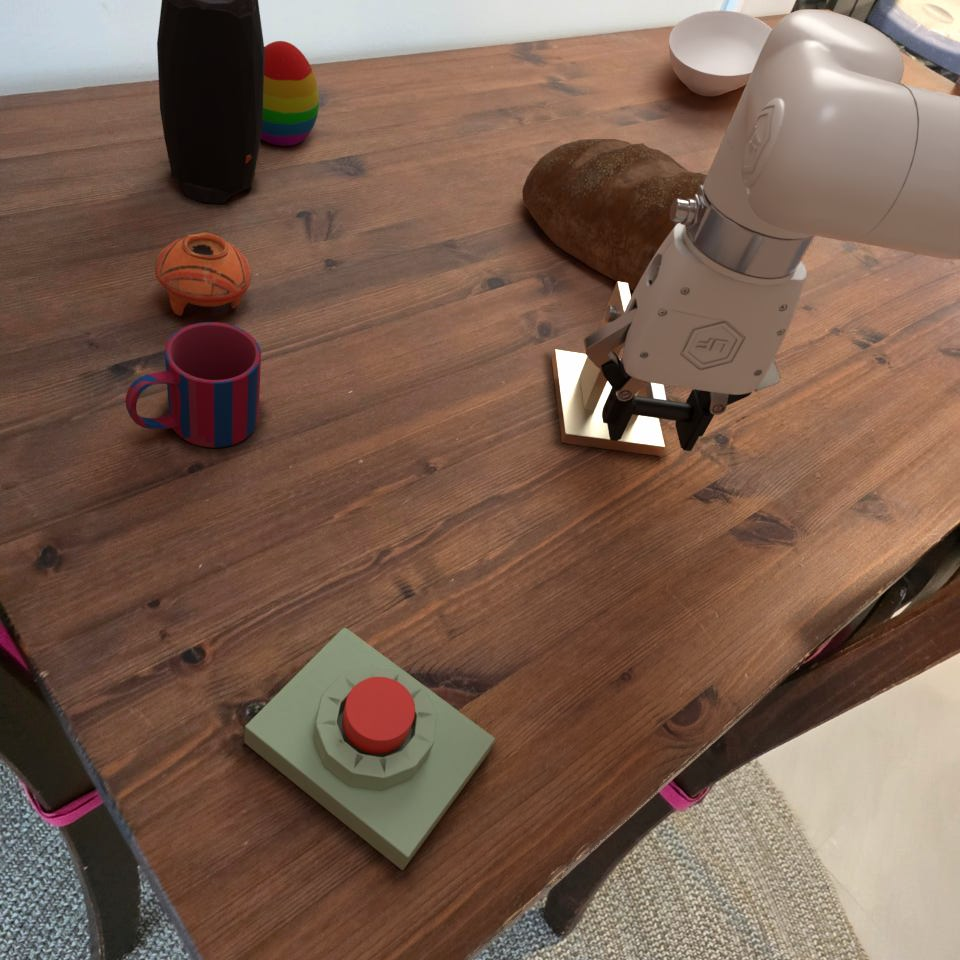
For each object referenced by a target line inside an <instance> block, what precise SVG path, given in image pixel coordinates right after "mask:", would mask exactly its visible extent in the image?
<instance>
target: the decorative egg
mask: <svg viewBox="0 0 960 960" xmlns="http://www.w3.org/2000/svg"><path fill="white" fill-rule="evenodd" d="M264 49H265V63H264V91H263V120H262V134H261V141H263V142H265V143H268V144H271V145H274V146H283V147H284V146H285V147H289V146H295V145H297V144H299V143H301V142H303V141H304V140H306V138H307V137H308V136H309V135H310V133H311V132H312V130H313V129H314V126H315V124H316V122H317V118H318V115H319V107H320V97H319V96H320V95H319V94H320V93H319V86H318V82H317V79H316V76H315V73H314V70H313V68H312V65H311V64H310V62H309V60H308V59H307V57H306V56H305V54H303V52H302V51H301V50H300V49H299V48H298V47H297V46H296V45H294V44H293V43H291V42H288V41H284V40H276V41H272V42H270V43H268V44H266V45H264Z"/></svg>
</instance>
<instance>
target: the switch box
mask: <svg viewBox="0 0 960 960" xmlns="http://www.w3.org/2000/svg"><path fill="white" fill-rule="evenodd" d="M371 677H387V678H391V679H393V680H396V681H398V682H399V683H401V684H402V685H403V686H404V687H405V688H406V689H407V690H408V691H409V692H410V694H411V696H412V698H413V700H414V704H415V716H414V720H413V723H412V726H411V729H410V732H409V734H408V736H407V738H406V740H405V741H404V742H403V743H402V745H400V746H399V747H398V748H396V749H395V750H393V751H391V752H388V753H383V754H371V753H367V752H364V751H362V750H360V749H358V748H357V747H355V746H354V745H353V744H352V743H351V742H350V741H349V740H348V738H347V737H346V735H345V732H344V729H343V724H342V718H343V712H344V708H345V703H346V699H347V697H348V694H349V693H350V691H351V690H352V688H353V687H354V686H355V685H357V684H358V683H359V682H361V681H363V680H365V679H368V678H371ZM243 736H244V739H243V740H244V741H243V742H244V744H245V745H247V746H248V747H249V748H250V749H251V750H253V751H254V752H255V753H256V754H258V755H259V757H261V758H263V759H264V760H265V761H266V762H267V763H269V764H270V765H271V766H272V767H273V768H275V769H276V770H278V771H279V772H280V773H281V774H282V775H284V776H285V777H286V778H287V779H289V780H290V781H291V782H292V783H293V784H295V785H296V787H298V788H300V789H301V790H302V791H303V792H304V793H306V794H307V795H308V796H309V797H311V798H312V799H313V800H314V801H316V802H317V803H318V804H319V805H321V806H322V807H323V808H324V809H326V810H327V811H328V812H329V813H331V814H332V815H333V816H334V817H335V818H336V819H337V820H339V821H340V822H342V823H343V824H344V825H345V826H347V827H348V828H349V829H350V830H351V831H353V832H354V834H357V835H358V836H359V837H360V838H361V839H363V840H364V841H365V842H366V843H368V844H369V845H370V846H371V847H372V848H374V849H375V850H376V851H378V853H379V854H381V855H382V856H383V857H384V858H386V859H387V860H389V861H390V862H391V863H392V864H394V865H395V867H397V868H398V869H400V870H401V871H404V870H405V868H406V867H407V865H408V864H409V863H410V862H411V860H412V859H413V857H414V856H415V855H416V853H417V852H418V850H419V849H420V848H421V846H422V845H423V844H424V842H425V841H426V840H427V839H428V837H429V836H430V834H431V833H432V832H433V830H434V828H436V826H437V825H438V823H439V822H440V820H441V819H442V818H443V816H444V815H445V814H446V813H447V811H448V810H449V808H450V807H451V805H452V804H453V803H454V802H455V800H456V798H458V796H459V794H460V793H461V792H462V790H463V789H464V788H465V786H466V785H467V783H468V782H469V781H470V779H471V778H472V777H473V775H474V774H475V773H476V771H478V769H479V767H480V766H481V765H482V764H483V762H484V761H485V759H486V757H487V756H488V755H489V753H490V751H491V750H492V747H493V746H494V743H495V741H496V737H494V736H493V735H491V734H490V733H489V732H488V731H486V730H485V729H483V728H482V727H481V726H479V725H478V724H477V723H475V722H474V721H473V720H471V719H470V718H469V717H467V716H466V715H464V714H463V713H462V712H461V711H459V710H458V709H457V708H455V707H453V706H452V705H451V704H450V703H448V702H447V701H446V700H444V699H443V698H442V697H440V696H439V695H438V694H437V693H435V692H434V691H432V690H431V689H429V688H428V687H427V686H426V685H424V684H422V683H421V682H420V681H418V680H417V679H416V678H414V677H413V676H412V675H411V674H409V673H408V672H407V671H405V670H404V669H403V668H402V667H400V666H398V665H397V664H396V663H395V662H393V661H391V660H390V659H388V657H386V656H385V655H384V654H383V653H381V652H380V651H378V650H376V649H375V648H374V647H373V646H372V645H370V644H369V643H367V642H366V641H364V639H362V638H360V637H359V636H358V635H356V634H355V633H354V632H352V631H351V630H350V629H348V628H347V627H346V626H343V627H342V628H341V629H339V631H338V632H337V633H336V634H335V635H334V636H333V637H332V638H331V639H330V640H329V641H328V642H327V643H326V644H325V645H324V646H323V647H322V648H321V650H319V651H318V652H317V653H316V654H315V655H314V656H313V657H312V658H311V659H310V660H309V661H308V662H307V663H306V664H305V665H304V666H303V667H302V669H300V670H299V671H298V672H297V673H296V675H294V676H293V677H292V678H291V679H290V680H289V681H288V682H287V683H286V684H285V685H284V686H283V687H282V689H280V690H279V691H278V692H277V693H276V694H275V695H274V696H273V697H272V698H271V699H270V700H269V701H268V703H266V705H265V706H263V708H262V709H260V711H258V712H257V714H255V715H254V716H253V717H252V718H251V720H250V721H248V722H247V723H246V724H245V725H244V735H243Z"/></svg>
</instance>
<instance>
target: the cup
mask: <svg viewBox="0 0 960 960" xmlns="http://www.w3.org/2000/svg"><path fill="white" fill-rule="evenodd" d="M164 357H165V358H164V359H165V361H164V362H165V371H164V370H163V371H156V372H151V373H148V374H144V375H143V376H140V377H138V378H137V379H136V380H134V381H133V382H132V383H131V385H130V386H129V387H128V389H127V391H126V395H125V407H126V410H127V413H128V415H129V417H130V419H131V420H132V421H133V422H134V423H135V424H136V425H138V426H139V427H141V428H144V429H147V430H167V429H172V430H173V431H174V432H175V433H176V435H177V436H178V437H180V438H181V439H182V440H184V441H186V442H188V443H190V444H193V445H195V446H199V447H203V448H210V449H216V448H217V449H219V448H225V447H231V446H234V445H237V444H239V443H242V442H243V441H245V440H246V439H248V438H249V437H250V436H251V435H252V434H253V433H254V431H255V430H256V428H257V426H258V423H259V413H260V412H259V411H260V392H261V391H260V390H261V385H260V384H261V368H262V367H261V365H262V351H261V347H260V345H259V343H258V342H257V339H255V338H254V336H252V335H251V334H250V333H249V332H248V331H245V330H244V329H242V328H240V327H238V326H235V325H232V324H229V323H224V322H217V321H204V322H196V323H193V324H189V325H186V326H184V327H182V328H180V329H178V330H177V331H175V332H174V333H173V334H172V335H171V336H170V337H169V338H168V340H167V341H166V344H165V348H164ZM158 384H162V385H163V384H164V385H166V389H167V390H166V391H167V407H168V414H166V415H163V416H159V417H151V418H150V417H144V416H140V415H139V414H138V411H137V403H138V399H139V397H140V396H141V394H142V393H143V392H144V390H146V389H147V388H149V387H151V386H153V385H158Z"/></svg>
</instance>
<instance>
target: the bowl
mask: <svg viewBox="0 0 960 960" xmlns="http://www.w3.org/2000/svg"><path fill="white" fill-rule="evenodd" d="M772 29H773V28H771V27H770V25H768V24H767V23H765V22H763V21H762V20H760V19H759V18H756V17H754V16H752V15H749V14H746V13H742V12H738V11H732V10H709V11H702V12H699V13H695V14H692V15H690V16H687V17H685V18H683V19H682V20H680V21H679V22H678V23H677V24H676V25H675V26H674V27H673V28H672V30H671V32H670V35H669V37H668V51H669V58H670V63H671V67H672V69H673V71H674V73H675V75H676V76H677V78H678V80H680V81H681V83H683V85H685V86H686V87H687V89H689V90H690V91H691V92H692V93H694V94H696V95H699V96H703V97H718V96H721V95H724V94H726V93H729V92H732V91H735V90H738V89H740V88H742V87H744V86H746V85H747V82H748V80H749V78H750V75H751V73H752V71H753V69H754V66H755V64H756V62H757V59H758V57H759V55H760V52H761V50H762V48H763V46H764V44H765V42H766V40H767V38H768V36H769V34H770V32H771V30H772Z"/></svg>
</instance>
